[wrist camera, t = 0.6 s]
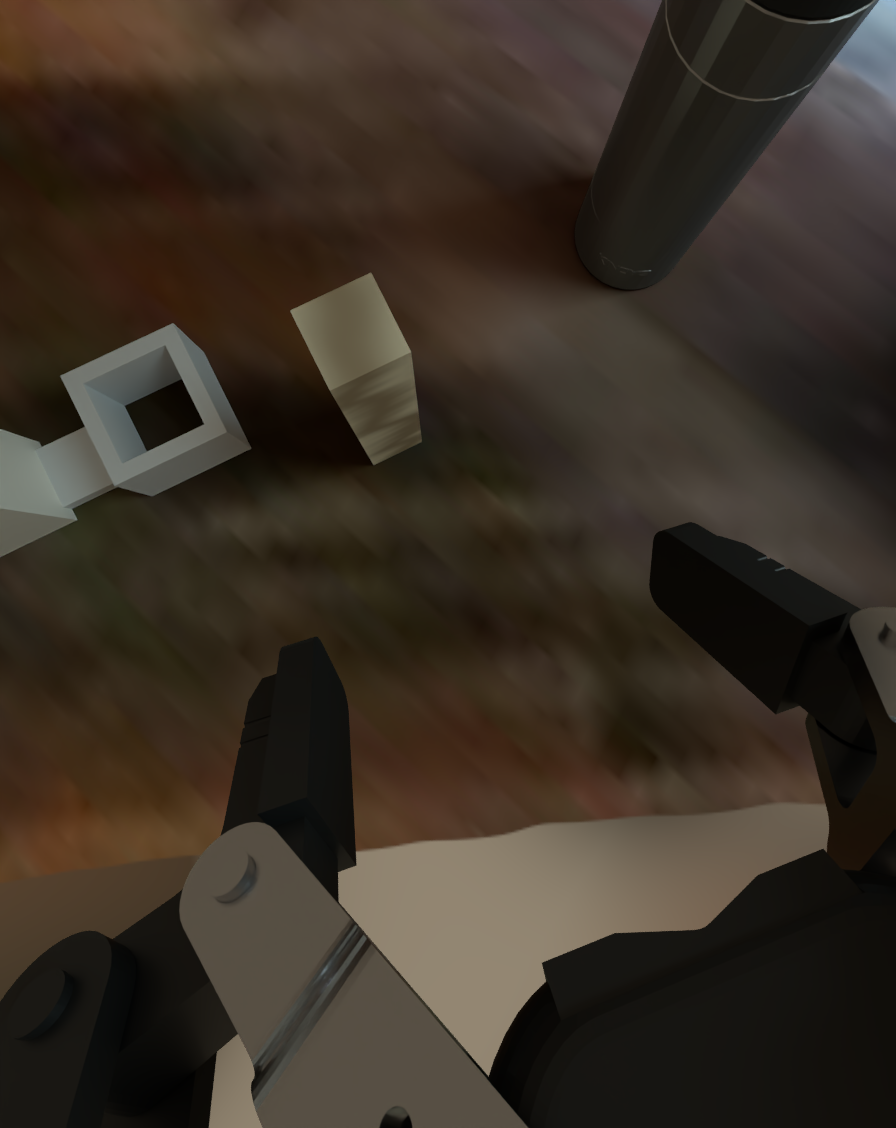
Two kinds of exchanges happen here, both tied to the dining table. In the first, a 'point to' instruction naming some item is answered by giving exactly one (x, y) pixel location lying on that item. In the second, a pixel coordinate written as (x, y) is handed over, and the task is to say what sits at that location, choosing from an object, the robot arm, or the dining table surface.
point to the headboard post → (114, 438)
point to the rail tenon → (364, 365)
